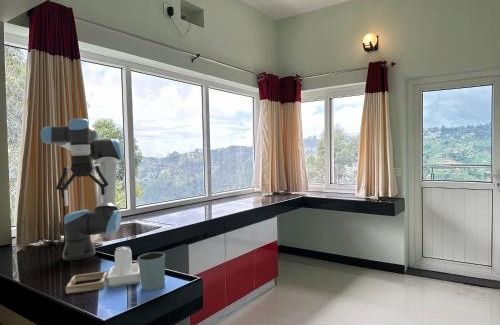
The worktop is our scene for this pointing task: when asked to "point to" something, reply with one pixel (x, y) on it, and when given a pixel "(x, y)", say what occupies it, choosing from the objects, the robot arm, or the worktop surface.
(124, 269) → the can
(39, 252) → the worktop surface
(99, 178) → the robot arm
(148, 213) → the worktop surface
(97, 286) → the holder ring
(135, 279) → the tray
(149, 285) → the grey-green cup
